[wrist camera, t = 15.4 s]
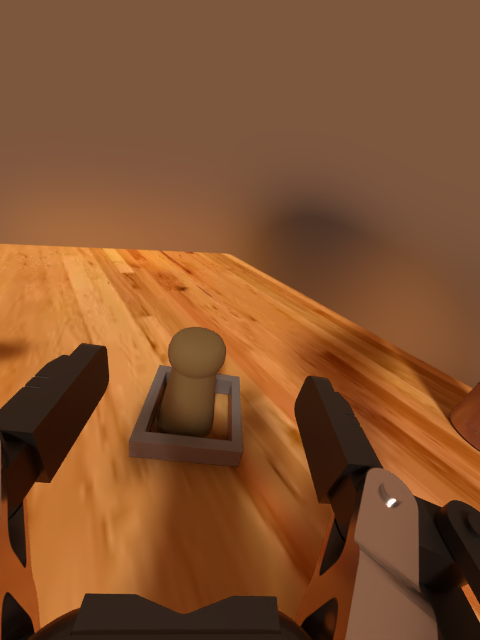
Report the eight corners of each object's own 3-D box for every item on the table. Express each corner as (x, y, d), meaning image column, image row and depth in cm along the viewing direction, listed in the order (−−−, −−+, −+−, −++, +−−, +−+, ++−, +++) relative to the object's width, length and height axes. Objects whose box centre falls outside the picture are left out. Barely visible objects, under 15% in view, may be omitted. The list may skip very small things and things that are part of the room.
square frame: (235, 389, 32) (239, 376, 31) (237, 466, 23) (242, 452, 22) (158, 379, 30) (159, 365, 29) (129, 456, 22) (129, 440, 20)
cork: (224, 426, 26) (247, 345, 21) (174, 457, 22) (189, 366, 17) (194, 390, 30) (208, 314, 25) (146, 411, 26) (152, 325, 21)
